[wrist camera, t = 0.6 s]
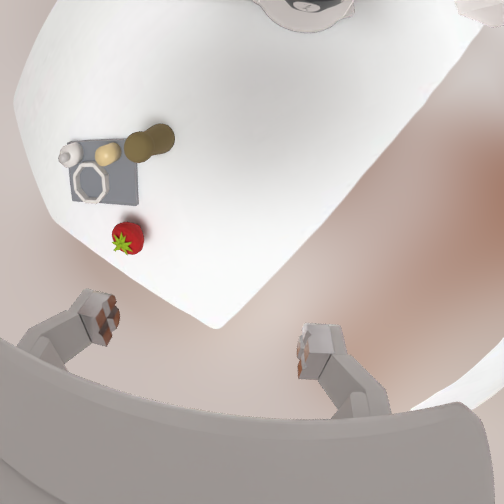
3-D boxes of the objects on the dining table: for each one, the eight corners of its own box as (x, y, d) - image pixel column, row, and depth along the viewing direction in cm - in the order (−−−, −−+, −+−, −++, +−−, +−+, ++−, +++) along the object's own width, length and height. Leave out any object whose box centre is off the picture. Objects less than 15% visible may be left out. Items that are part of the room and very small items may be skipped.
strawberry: (144, 245, 59) (125, 270, 50) (120, 224, 56) (98, 246, 48) (157, 229, 56) (139, 253, 48) (132, 207, 54) (109, 227, 45)
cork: (178, 127, 45) (155, 135, 36) (170, 157, 48) (147, 171, 39) (150, 120, 44) (122, 127, 35) (143, 149, 47) (115, 162, 38)
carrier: (70, 141, 46) (53, 148, 41) (137, 138, 46) (122, 144, 41) (75, 199, 53) (60, 209, 48) (138, 203, 54) (125, 215, 48)
